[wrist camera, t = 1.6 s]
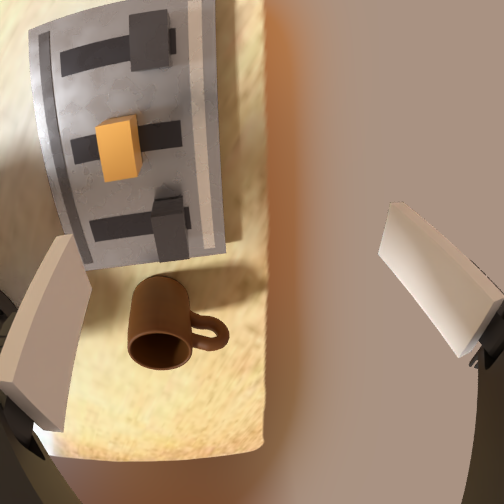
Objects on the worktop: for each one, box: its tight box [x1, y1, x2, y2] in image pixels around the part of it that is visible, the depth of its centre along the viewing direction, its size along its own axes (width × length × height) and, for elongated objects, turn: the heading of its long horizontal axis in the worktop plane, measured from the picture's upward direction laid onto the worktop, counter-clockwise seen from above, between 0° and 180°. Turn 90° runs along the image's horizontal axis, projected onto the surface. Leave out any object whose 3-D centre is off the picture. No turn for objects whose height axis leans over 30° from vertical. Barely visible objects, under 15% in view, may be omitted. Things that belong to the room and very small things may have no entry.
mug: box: [128, 276, 229, 370], centre depth 36 cm, size 12×8×9 cm, turn 83°
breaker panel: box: [29, 0, 226, 271], centre depth 25 cm, size 18×28×6 cm, turn 1°
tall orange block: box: [95, 114, 143, 182], centre depth 24 cm, size 3×5×4 cm, turn 1°
